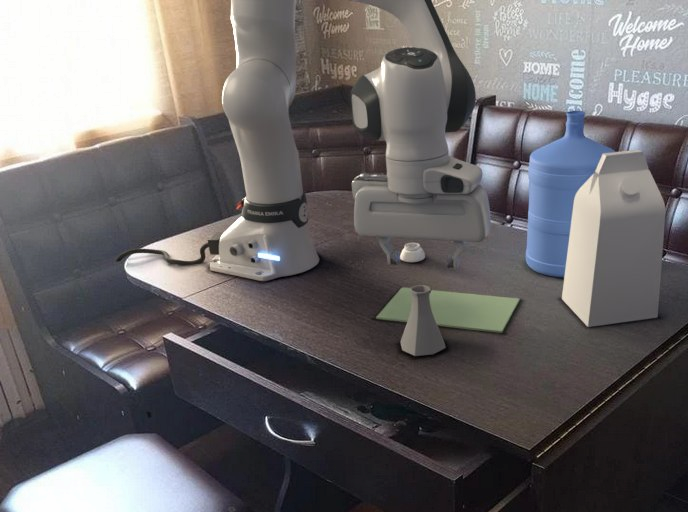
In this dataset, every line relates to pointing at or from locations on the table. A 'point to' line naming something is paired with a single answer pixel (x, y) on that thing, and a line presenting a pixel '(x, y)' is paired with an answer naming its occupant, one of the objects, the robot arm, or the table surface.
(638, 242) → the milk
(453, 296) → the placemat
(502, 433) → the table surface
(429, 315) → the flask
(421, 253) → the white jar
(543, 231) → the water jug
